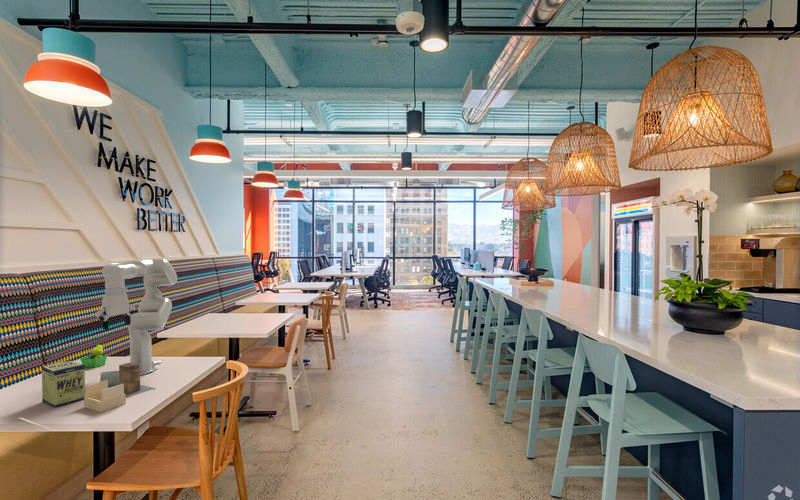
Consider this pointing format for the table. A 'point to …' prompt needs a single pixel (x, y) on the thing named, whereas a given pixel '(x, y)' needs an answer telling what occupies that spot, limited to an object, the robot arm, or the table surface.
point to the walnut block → (130, 377)
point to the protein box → (63, 383)
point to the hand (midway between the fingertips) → (116, 327)
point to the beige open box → (104, 396)
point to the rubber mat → (142, 389)
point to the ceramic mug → (110, 378)
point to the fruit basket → (94, 358)
